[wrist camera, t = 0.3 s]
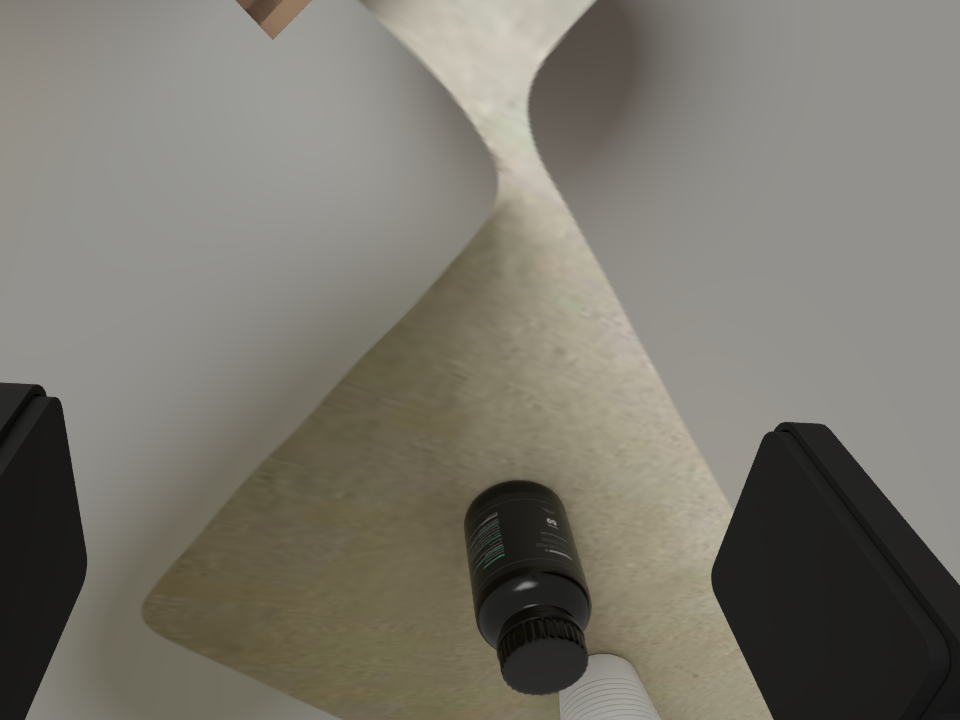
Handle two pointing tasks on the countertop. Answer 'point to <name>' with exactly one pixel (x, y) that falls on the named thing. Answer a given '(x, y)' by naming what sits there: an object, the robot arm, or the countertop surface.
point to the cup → (607, 693)
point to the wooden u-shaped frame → (273, 13)
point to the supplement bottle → (528, 586)
